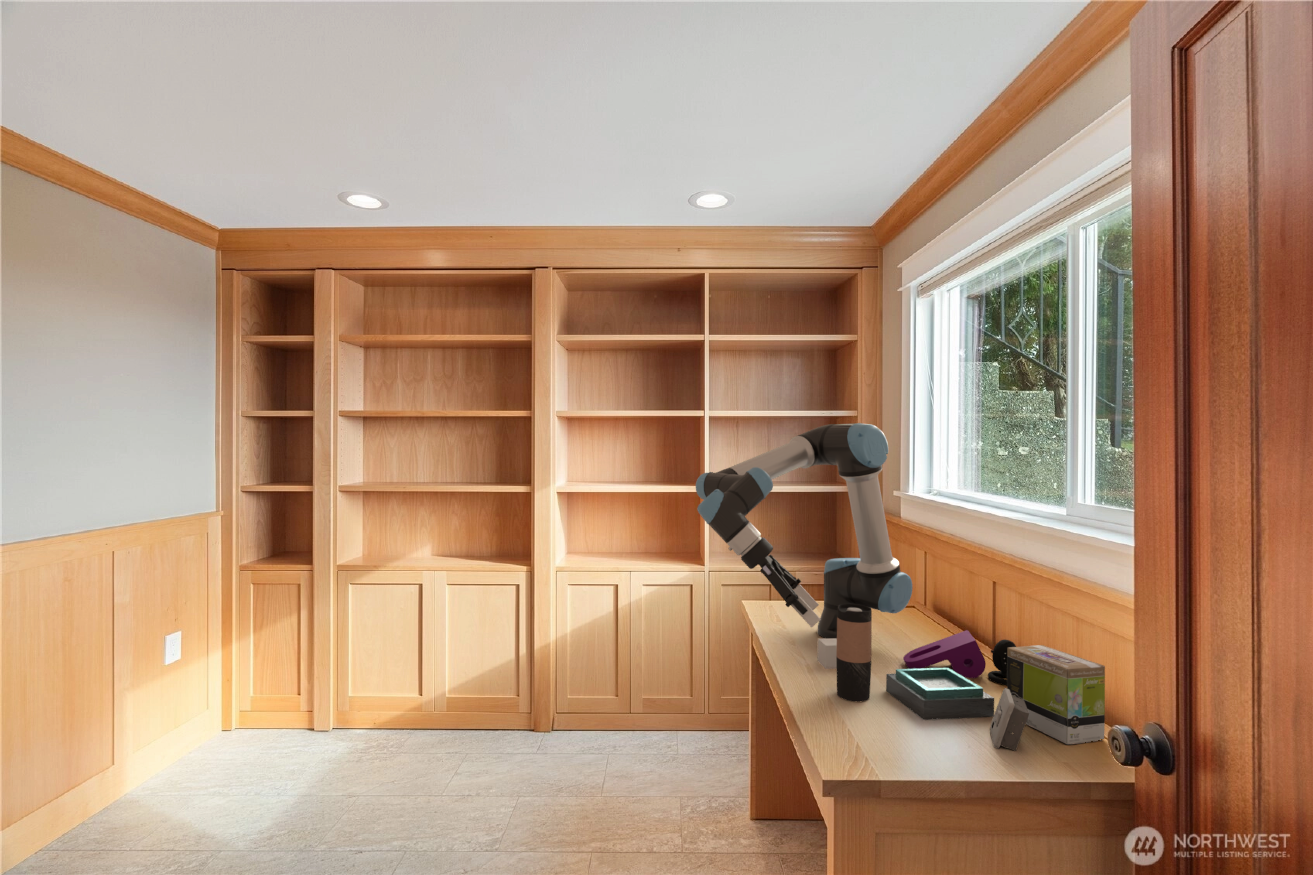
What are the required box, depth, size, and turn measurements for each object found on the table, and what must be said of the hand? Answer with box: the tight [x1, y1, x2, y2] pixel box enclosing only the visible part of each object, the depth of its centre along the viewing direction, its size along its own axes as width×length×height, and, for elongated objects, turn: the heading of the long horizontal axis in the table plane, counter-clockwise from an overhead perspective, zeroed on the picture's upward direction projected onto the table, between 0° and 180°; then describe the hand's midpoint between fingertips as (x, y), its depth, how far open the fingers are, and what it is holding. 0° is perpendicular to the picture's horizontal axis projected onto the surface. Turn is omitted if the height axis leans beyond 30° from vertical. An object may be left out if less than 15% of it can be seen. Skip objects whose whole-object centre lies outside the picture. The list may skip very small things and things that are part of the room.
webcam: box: [987, 639, 1017, 686], centre depth 161 cm, size 8×8×10 cm
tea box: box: [1006, 644, 1106, 745], centre depth 135 cm, size 15×10×15 cm, turn 17°
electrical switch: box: [989, 687, 1029, 752], centre depth 127 cm, size 9×5×9 cm, turn 158°
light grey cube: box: [816, 638, 837, 670], centre depth 171 cm, size 6×6×6 cm
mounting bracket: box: [902, 629, 986, 679], centre depth 169 cm, size 10×8×18 cm
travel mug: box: [836, 604, 873, 703], centre depth 150 cm, size 8×8×20 cm
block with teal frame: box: [885, 667, 995, 721], centre depth 146 cm, size 16×16×6 cm
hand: (815, 615), depth 151 cm, fingers open, 13 cm apart
